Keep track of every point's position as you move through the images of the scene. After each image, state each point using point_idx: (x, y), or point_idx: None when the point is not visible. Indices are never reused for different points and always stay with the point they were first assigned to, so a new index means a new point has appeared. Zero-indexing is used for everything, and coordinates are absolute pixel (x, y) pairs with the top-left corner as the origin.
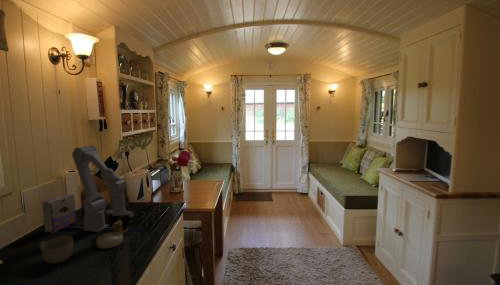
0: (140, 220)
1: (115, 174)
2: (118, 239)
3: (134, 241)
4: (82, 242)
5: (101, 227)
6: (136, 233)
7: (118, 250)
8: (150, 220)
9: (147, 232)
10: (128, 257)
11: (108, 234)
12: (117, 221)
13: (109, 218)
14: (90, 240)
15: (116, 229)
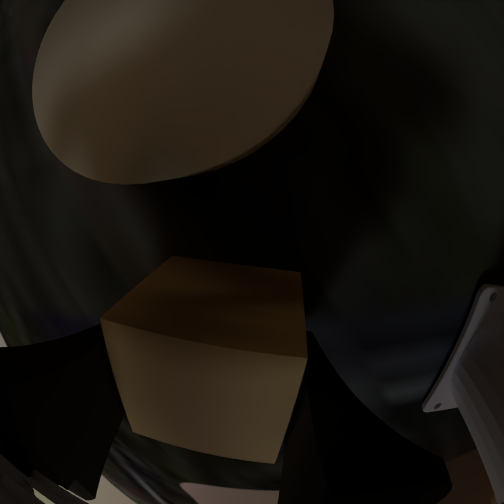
0: (208, 469)
1: None
2: (45, 38)
3: (13, 145)
4: (483, 56)
5: (473, 350)
6: (63, 283)
7: (59, 5)
8: (144, 456)
9: (24, 298)
10: (10, 7)
11: (222, 69)
12: (274, 439)
13: (404, 468)
14: (452, 83)
15: (231, 292)
